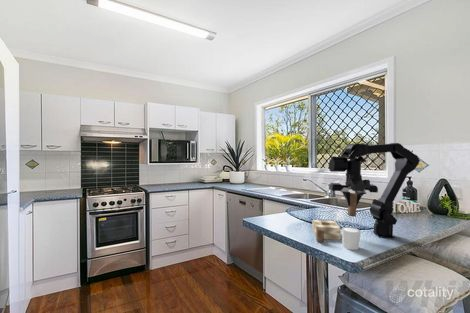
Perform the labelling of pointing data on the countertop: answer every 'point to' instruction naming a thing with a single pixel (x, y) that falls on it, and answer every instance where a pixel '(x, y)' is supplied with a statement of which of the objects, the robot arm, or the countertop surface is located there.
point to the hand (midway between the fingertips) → (352, 206)
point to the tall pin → (352, 204)
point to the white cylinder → (351, 238)
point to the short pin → (319, 235)
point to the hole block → (327, 228)
